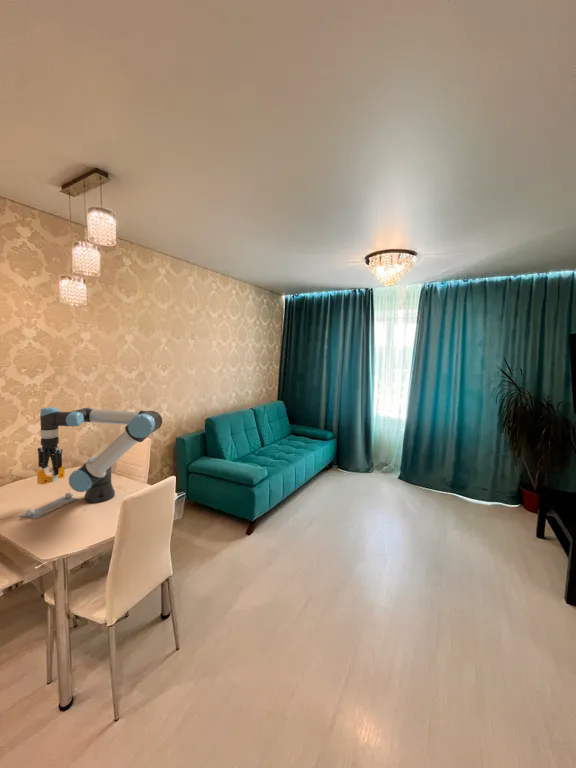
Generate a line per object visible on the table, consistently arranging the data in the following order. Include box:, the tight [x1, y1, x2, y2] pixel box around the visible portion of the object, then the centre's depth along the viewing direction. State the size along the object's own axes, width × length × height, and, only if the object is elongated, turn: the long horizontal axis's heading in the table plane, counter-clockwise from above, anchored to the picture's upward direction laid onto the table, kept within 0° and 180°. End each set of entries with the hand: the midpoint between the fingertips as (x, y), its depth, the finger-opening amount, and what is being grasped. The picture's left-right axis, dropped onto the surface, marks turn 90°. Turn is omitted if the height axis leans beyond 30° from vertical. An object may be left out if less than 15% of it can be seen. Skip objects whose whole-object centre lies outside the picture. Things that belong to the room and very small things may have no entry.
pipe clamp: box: [36, 464, 65, 485], centre depth 170 cm, size 12×4×6 cm, turn 158°
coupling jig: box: [19, 491, 79, 520], centre depth 170 cm, size 10×24×4 cm, turn 168°
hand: (50, 480), depth 169 cm, fingers closed on pipe clamp, 5 cm apart
